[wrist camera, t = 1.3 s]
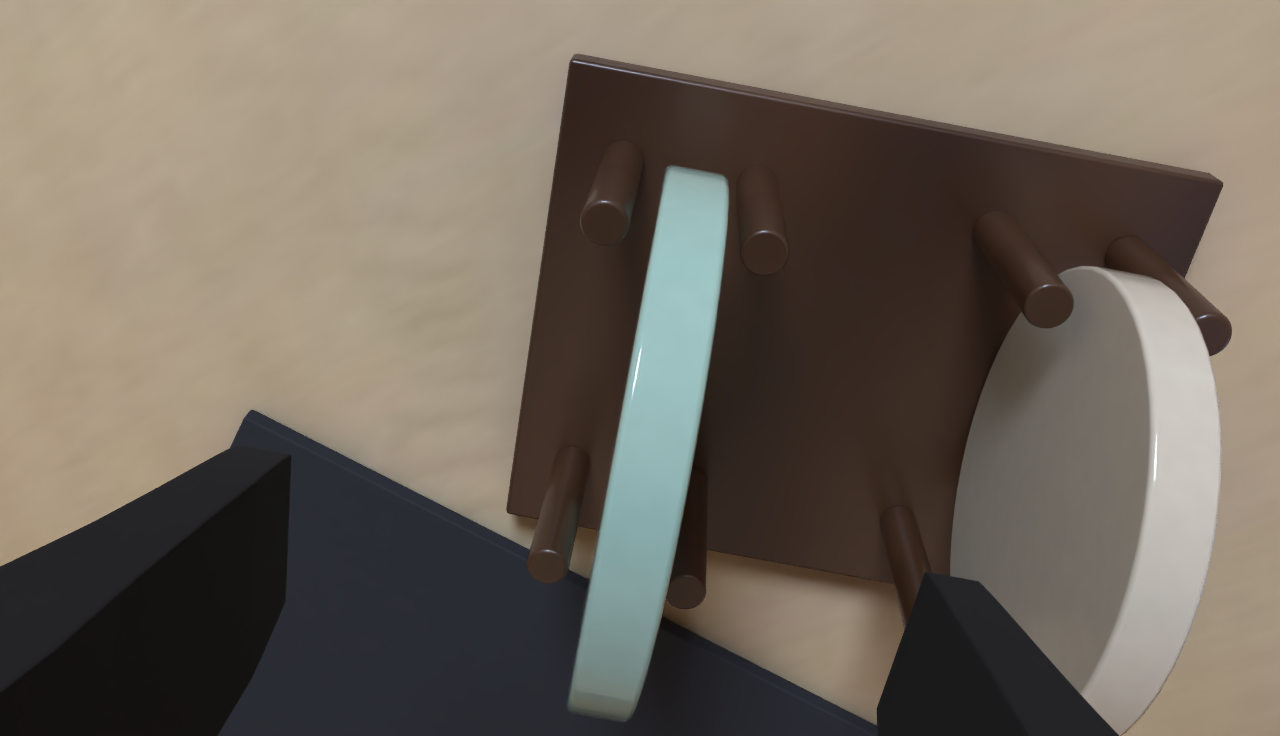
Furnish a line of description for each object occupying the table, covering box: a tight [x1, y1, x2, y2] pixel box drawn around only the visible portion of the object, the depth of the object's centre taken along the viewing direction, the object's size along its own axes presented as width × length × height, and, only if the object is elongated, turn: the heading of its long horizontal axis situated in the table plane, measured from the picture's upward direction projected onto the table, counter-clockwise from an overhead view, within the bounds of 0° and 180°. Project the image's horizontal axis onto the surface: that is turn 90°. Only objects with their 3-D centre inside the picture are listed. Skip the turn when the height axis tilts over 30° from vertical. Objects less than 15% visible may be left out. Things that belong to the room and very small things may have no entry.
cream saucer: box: [950, 265, 1222, 736], centre depth 17 cm, size 1×7×7 cm, turn 170°
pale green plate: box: [566, 165, 730, 722], centre depth 16 cm, size 1×8×8 cm, turn 170°
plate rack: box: [506, 54, 1232, 629], centre depth 19 cm, size 11×9×4 cm
